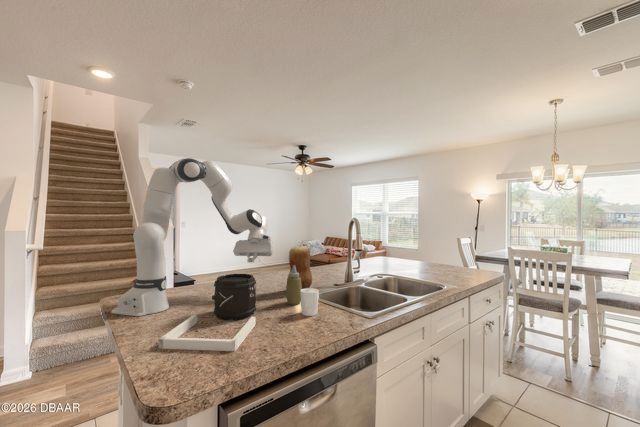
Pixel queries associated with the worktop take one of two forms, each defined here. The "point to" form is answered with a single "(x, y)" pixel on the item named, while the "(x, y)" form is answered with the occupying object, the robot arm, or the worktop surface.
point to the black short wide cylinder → (234, 296)
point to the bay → (174, 342)
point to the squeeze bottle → (293, 287)
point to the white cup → (309, 301)
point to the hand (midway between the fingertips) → (250, 261)
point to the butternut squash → (301, 264)
